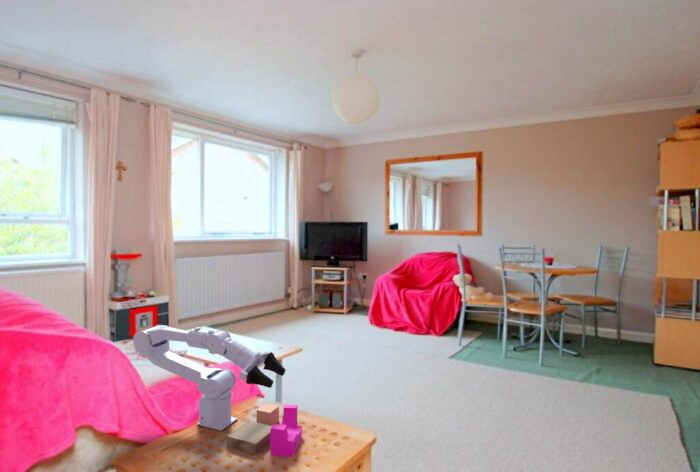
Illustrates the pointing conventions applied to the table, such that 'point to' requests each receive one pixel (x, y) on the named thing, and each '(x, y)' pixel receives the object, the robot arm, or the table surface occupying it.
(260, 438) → the taupe block
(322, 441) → the table surface
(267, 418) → the terracotta cube
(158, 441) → the table surface
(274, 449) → the toy block
